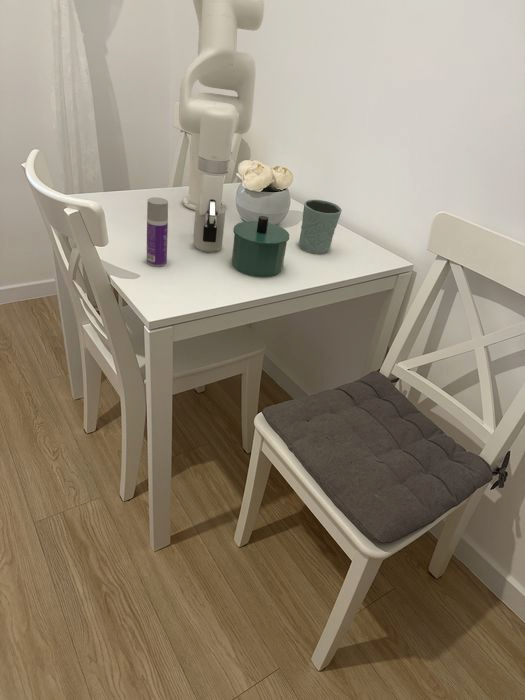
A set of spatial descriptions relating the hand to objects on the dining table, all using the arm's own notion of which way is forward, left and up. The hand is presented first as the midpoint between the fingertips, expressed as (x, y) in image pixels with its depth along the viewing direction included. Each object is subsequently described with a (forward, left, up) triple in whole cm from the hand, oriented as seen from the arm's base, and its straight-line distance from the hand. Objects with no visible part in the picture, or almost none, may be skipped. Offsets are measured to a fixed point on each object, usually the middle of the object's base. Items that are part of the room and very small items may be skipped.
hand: (208, 234), depth 130 cm
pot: (+9, +12, -4) cm, 15 cm away
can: (0, 0, -4) cm, 4 cm away
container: (+11, -12, -4) cm, 17 cm away
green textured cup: (-5, +30, -4) cm, 31 cm away
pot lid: (+9, +12, +5) cm, 16 cm away
